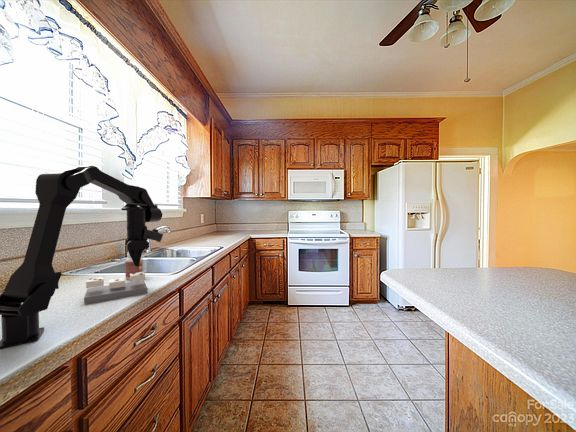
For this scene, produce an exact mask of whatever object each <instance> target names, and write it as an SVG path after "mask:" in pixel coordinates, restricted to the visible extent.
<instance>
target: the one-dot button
mask: <svg viewBox="0 0 576 432" xmlns="http://www.w3.org/2000/svg"><path fill="white" fill-rule="evenodd" d="M125 283H126V277H121V278H113V279H109V283H108V285H109V289H111V288H118V287H124V286H125Z"/></svg>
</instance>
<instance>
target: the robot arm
mask: <svg viewBox="0 0 576 432" xmlns="http://www.w3.org/2000/svg"><path fill="white" fill-rule="evenodd" d="M35 180H36V181H35V190H34V191H35V195H36V198H37V201H38V204H39V206H38V210H37V214H36V217H35V220H34V223H33V228H32V230H31V233H30V238H29V242H28V245H27V248H26V251H25V256H24V259H23V262H22V264H21V265H20V266H19V267H18V268H17V269H16V270H15V271H14V272H12V274H11V275H10V278H9V279H8V281H7V283H6V285H5V287H4V290H3V292H2V293H1V294H0V318H1V320H0V322H1V339H0V349H4V348H9V347H13V346H14V347H15V346H17V345H22V344H26V343H27V344H28V343H31V342H35V341H38V340H39V339H40V337H41V336H42V335H43V333H44V331H45V327H40V312H43V311H46V310H48V307H49V304H50V302H51V299H52V297H53V296H54V294H55V291H56V290H58V289H59V288H60V287H59V282H60V278H61V277H62V272H61V271H55V269H54V266H53V262H54V257H55V253H56V249H57V245H58V242H59V237H60V233H61V230H62V226H63V223H64V217H65V214H66V210H67V208H68V206H69V205H71V204H72V203H73V202H74V200H76V198H77V196H78V194H79V193H80V190H81V188H83V187H85V186H88V185H89V184H93V185H94V186H97V187H99V188H102V189H104V190H106V191H108V192H110V193H112V194H115V195H116V196H117V197H118V199H119V200H121V201H122V202H124V203H125V205H123V207H121V208H120V210H121V211H126V238H125V245H126V250H127V251H128V252H129V254H130V256H131V258H132V260H133V263H134V265H135V266H139V263H140V259H141V258H142V255H143V252H144V251H145V250H148V249H150V242H149V241H148V240H153V241H156V242H157V243H161V242H162V239H163V237H164V233H161V232H159V230H158V229H156V228H152V230H151V229H148V226H147V224H146V223H155V222H160V221H161V219H162V218H163V212H162V210H161V209H160V208H158V207H159V206H158V204H154V202H153V200H152V197H150V195H149V192H148V190H147V189H146V188H144V187H140V186H137V185H131V184H128V183H126V182H124V181H123V180H120V179H119V178H116V177H114V176H113V175H110V174H109V173H107V172H104V171H103V170H101V169H99V167H97V166H94V165H80V166H79V165H78V166H77V167H74V168H71V169H66V170H63V171H62V170H61V171H55V172H54V171H53V172H52V171H51V172H43V173H41V174H39V175H38V176H37V178H36V179H35ZM128 252H127V253H128Z"/></svg>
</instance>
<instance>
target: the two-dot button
mask: <svg viewBox="0 0 576 432" xmlns="http://www.w3.org/2000/svg"><path fill="white" fill-rule="evenodd" d="M142 280H144V281H145V280H146V273H145V271H142V272H138V273H130V281H129V282H135V281H142Z"/></svg>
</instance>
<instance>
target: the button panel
mask: <svg viewBox="0 0 576 432" xmlns="http://www.w3.org/2000/svg"><path fill="white" fill-rule="evenodd" d="M86 289H87V290H86V292H85V295H84V297H83V298H84V299H83V300H84V301H83V304H84V305H87V304H93V303H97V302H98V303H99V302H105V301H110V300H115V299H121V298H127V297H133V296H138V295H145V294H144V293H146V294H148V287H147V284H146V282H145V280H140V281H134V282H131V281H129V282H125V286H124V287H118V288H111V289H109V284H108V285H103V286H99V287H92V288H86Z"/></svg>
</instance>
